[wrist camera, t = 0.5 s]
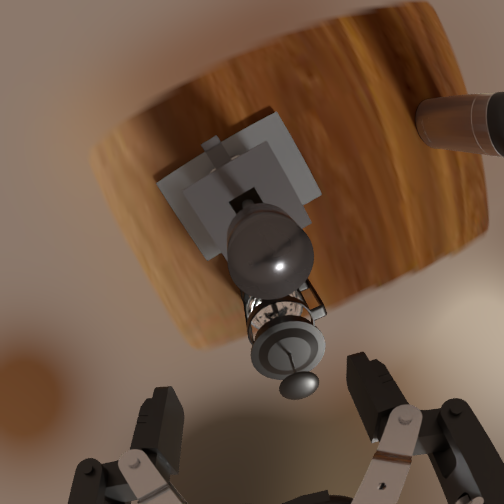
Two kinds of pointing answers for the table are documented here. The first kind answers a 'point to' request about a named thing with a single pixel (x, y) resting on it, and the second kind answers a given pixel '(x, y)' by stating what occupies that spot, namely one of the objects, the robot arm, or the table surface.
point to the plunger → (267, 251)
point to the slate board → (234, 145)
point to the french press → (286, 340)
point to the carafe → (241, 188)
